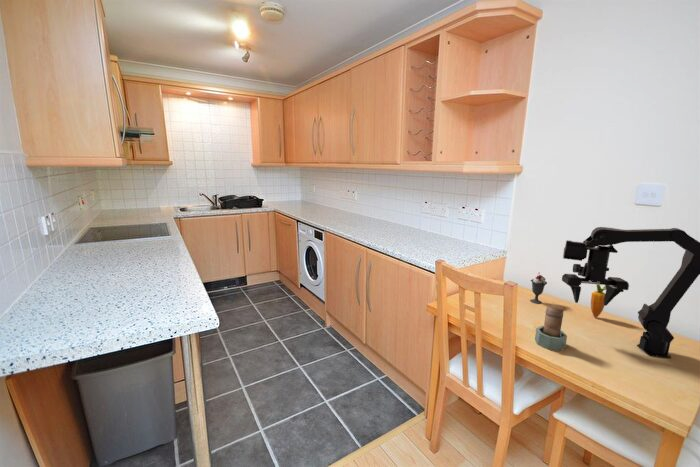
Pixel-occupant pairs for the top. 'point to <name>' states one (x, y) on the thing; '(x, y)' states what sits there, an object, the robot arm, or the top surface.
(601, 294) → the carrot
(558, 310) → the pepper mill
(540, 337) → the pot
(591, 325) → the top surface
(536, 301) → the sundae
